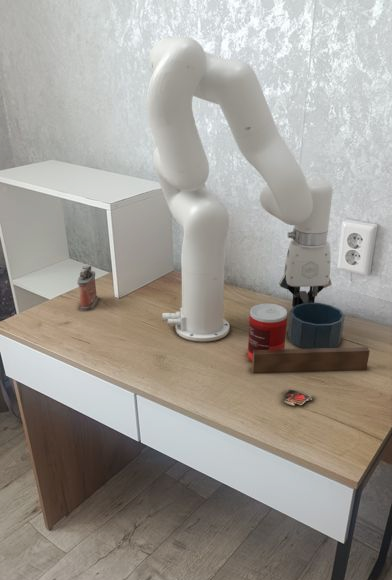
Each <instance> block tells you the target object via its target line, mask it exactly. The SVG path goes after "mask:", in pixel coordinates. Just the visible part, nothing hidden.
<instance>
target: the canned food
mask: <svg viewBox="0 0 392 580" xmlns="http://www.w3.org/2000/svg"><path fill="white" fill-rule="evenodd" d="M248 320H249V321H248V337H247V339H248V340H247V356H248V360H249V361H250V362H251V363H252V362H253V350H277V349H285V344H286V335H287V324H288V310H287V309H286V308H285V307H284V306H282V305H280V304H276V303H259V304H256V305H253V306H252V307H250V311H249V319H248Z"/></svg>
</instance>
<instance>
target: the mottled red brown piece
mask: <svg viewBox="0 0 392 580" xmlns="http://www.w3.org/2000/svg"><path fill="white" fill-rule="evenodd" d="M282 398H283V399H284V403H285V404H287V405H290V406H295V405H299V406H302V405H303V404H304V403H306V402H307V401H312V400H313V397H312V396H311V395H310V394H307V393H304V392H301V391H299V390H295V389H288V390H287V391H286V392H284V394H283V397H282Z"/></svg>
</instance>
